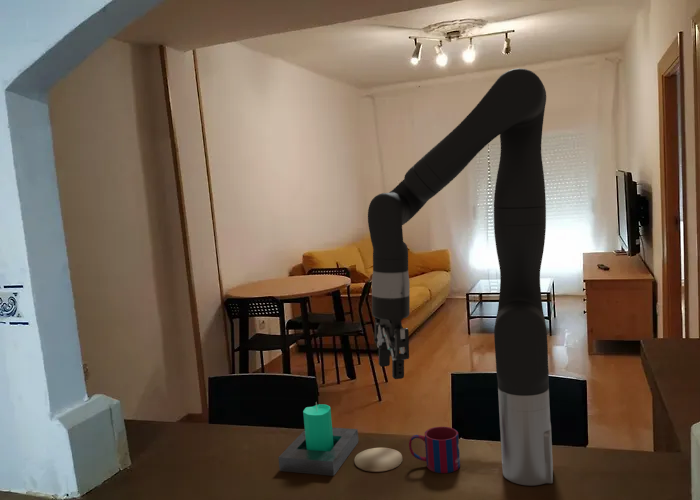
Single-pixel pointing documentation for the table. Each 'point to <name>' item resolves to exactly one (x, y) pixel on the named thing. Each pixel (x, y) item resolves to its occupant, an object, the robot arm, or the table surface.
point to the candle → (318, 428)
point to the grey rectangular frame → (319, 454)
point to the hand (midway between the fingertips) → (390, 371)
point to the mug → (440, 449)
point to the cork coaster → (378, 459)
